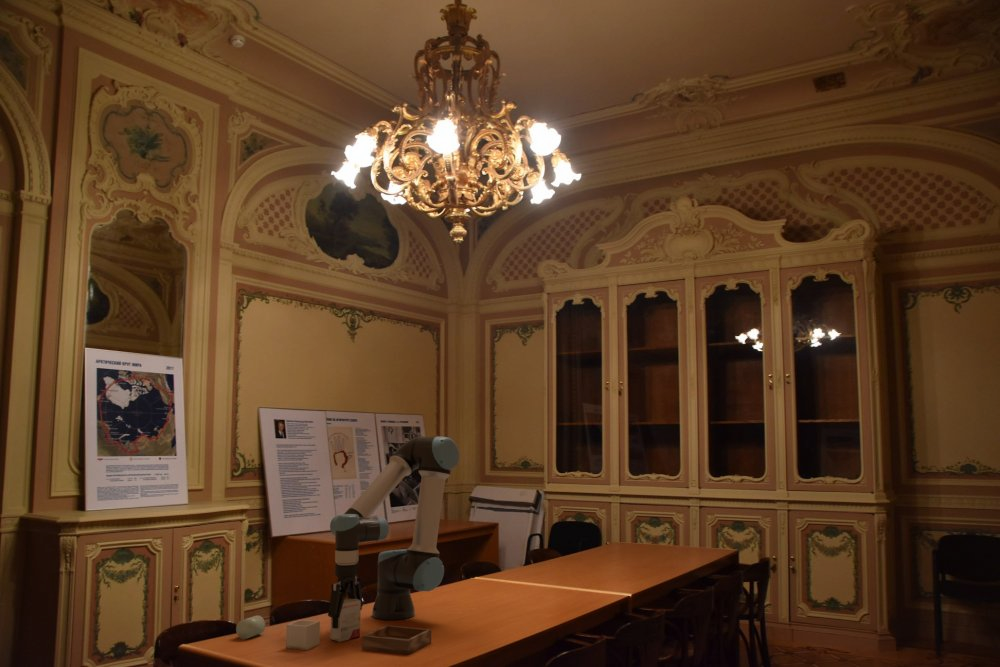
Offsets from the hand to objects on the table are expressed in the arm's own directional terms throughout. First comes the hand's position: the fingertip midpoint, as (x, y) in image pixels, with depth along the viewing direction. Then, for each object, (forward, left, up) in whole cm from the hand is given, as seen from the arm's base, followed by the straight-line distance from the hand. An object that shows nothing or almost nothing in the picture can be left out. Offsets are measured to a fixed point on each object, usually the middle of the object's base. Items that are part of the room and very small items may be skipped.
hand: (345, 634), depth 265 cm
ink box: (0, 0, -1) cm, 1 cm away
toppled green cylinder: (+9, -33, +2) cm, 34 cm away
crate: (+2, +20, -1) cm, 20 cm away
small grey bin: (+13, -7, -1) cm, 15 cm away
